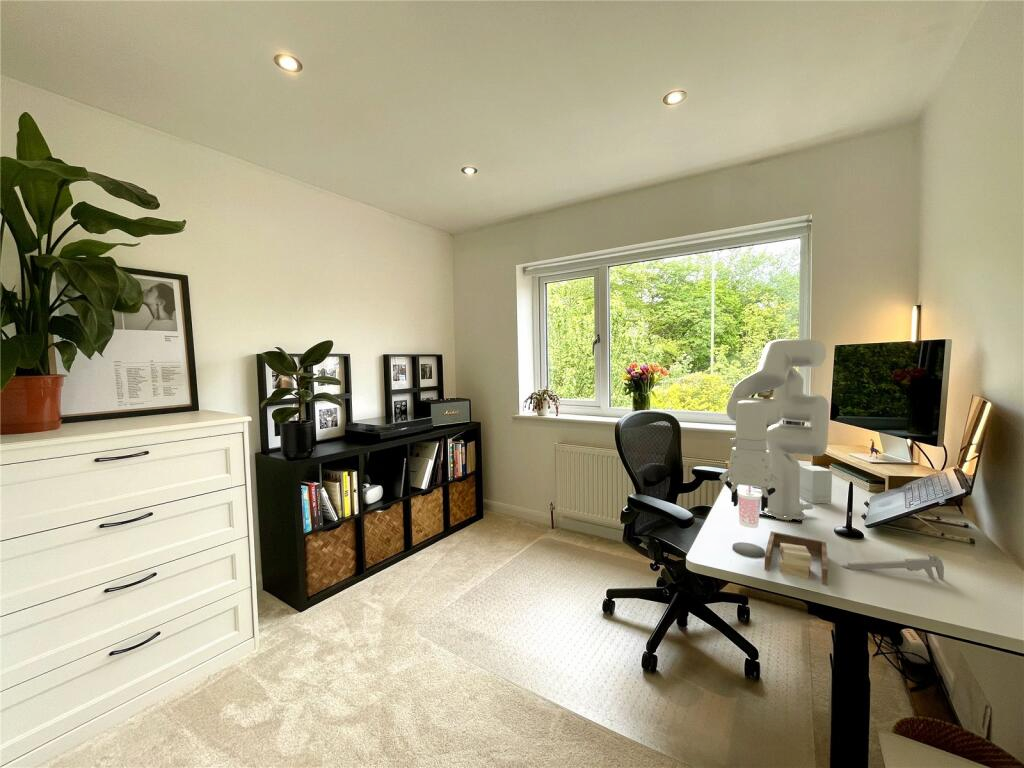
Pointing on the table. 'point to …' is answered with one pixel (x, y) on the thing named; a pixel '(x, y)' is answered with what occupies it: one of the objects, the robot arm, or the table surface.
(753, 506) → the beverage cup
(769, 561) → the rack
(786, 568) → the offcut lower
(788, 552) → the offcut upper
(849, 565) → the caliper
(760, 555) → the coaster
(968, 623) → the table surface
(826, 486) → the supplement box
